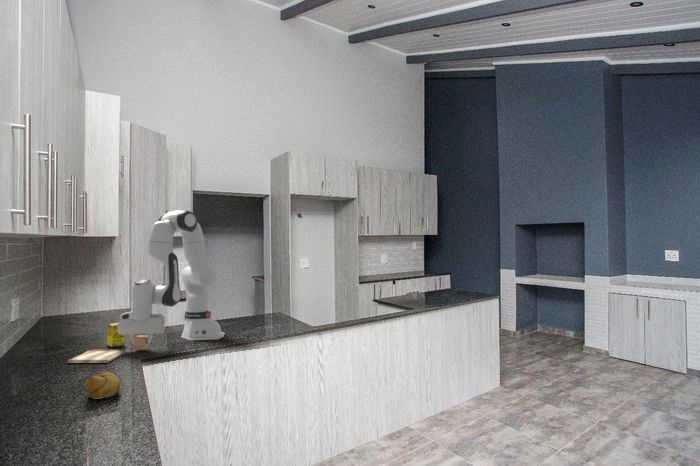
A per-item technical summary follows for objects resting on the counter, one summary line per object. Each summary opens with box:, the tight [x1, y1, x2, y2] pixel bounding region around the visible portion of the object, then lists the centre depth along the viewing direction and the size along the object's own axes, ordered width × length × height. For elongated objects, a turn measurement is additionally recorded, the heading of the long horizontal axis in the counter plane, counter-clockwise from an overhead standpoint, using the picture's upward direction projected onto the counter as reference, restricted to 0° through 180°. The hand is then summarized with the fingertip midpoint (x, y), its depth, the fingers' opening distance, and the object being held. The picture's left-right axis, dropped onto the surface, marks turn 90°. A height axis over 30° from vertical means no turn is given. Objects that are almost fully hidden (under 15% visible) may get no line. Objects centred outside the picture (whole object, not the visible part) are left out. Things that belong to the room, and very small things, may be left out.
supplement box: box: [106, 322, 126, 349], centre depth 192 cm, size 6×6×11 cm
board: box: [67, 349, 127, 364], centre depth 172 cm, size 16×16×2 cm
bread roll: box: [85, 371, 121, 399], centre depth 133 cm, size 13×10×8 cm
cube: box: [132, 334, 150, 350], centre depth 186 cm, size 5×5×5 cm
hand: (141, 343), depth 186 cm, fingers closed on cube, 5 cm apart
